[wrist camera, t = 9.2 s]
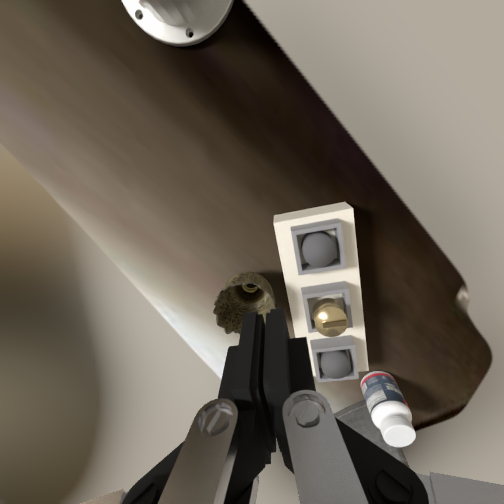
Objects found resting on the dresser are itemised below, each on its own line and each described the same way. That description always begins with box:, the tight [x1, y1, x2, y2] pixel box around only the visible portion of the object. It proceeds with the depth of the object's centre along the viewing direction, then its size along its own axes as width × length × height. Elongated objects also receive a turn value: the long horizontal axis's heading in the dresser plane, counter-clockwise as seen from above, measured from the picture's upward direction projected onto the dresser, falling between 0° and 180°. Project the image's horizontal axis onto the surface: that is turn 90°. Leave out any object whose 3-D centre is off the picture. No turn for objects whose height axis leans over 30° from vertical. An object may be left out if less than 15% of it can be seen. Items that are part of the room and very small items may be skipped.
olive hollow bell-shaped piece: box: [213, 272, 276, 334], centre depth 36 cm, size 8×7×8 cm
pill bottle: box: [361, 371, 416, 447], centre depth 40 cm, size 5×5×9 cm
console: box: [274, 202, 369, 383], centre depth 37 cm, size 23×9×6 cm, turn 12°
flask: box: [333, 400, 409, 467], centre depth 39 cm, size 4×14×18 cm, turn 132°
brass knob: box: [313, 298, 348, 337], centre depth 32 cm, size 4×4×3 cm
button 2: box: [301, 230, 337, 267], centre depth 32 cm, size 4×4×3 cm
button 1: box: [319, 349, 351, 379], centre depth 37 cm, size 4×4×3 cm
